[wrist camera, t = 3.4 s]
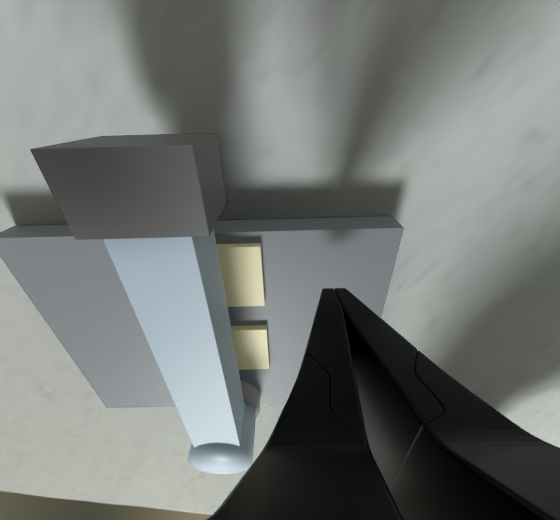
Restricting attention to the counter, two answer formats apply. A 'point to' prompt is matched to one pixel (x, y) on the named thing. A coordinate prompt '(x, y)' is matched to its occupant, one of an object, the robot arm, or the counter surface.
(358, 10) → the counter surface
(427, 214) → the counter surface
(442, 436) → the robot arm
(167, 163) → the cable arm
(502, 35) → the counter surface
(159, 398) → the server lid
